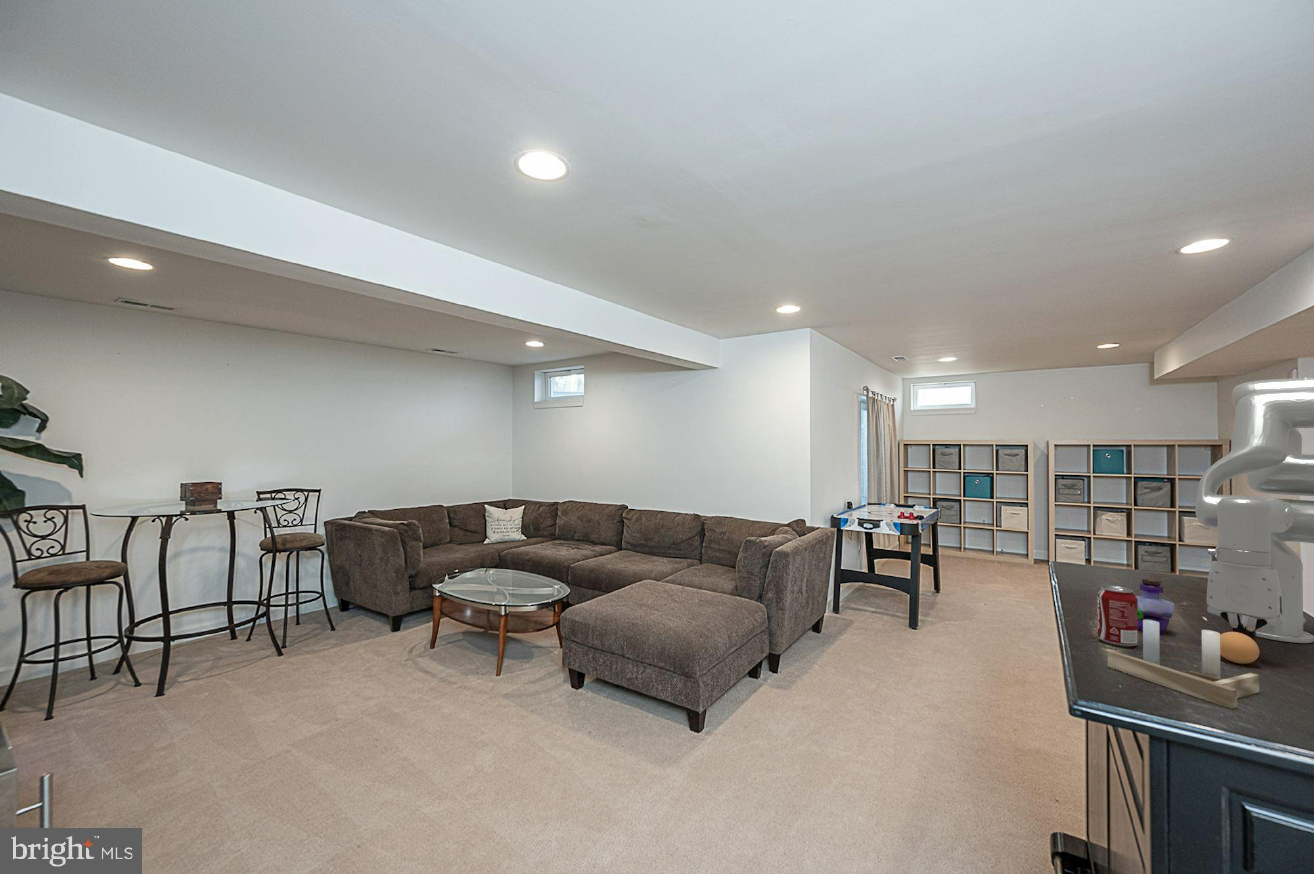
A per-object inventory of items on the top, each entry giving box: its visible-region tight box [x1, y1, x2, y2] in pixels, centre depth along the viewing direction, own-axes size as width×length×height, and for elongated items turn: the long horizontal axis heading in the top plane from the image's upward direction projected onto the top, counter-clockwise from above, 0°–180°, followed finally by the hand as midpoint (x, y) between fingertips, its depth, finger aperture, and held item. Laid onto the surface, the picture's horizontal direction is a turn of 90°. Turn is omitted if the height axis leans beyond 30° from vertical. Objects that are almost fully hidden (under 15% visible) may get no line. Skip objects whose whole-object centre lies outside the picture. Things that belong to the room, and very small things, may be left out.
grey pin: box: [1142, 620, 1161, 666], centre depth 107 cm, size 2×2×8 cm
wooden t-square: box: [1107, 650, 1260, 710], centre depth 99 cm, size 13×18×3 cm
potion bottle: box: [1135, 577, 1176, 635], centre depth 128 cm, size 9×9×12 cm
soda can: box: [1096, 584, 1139, 648], centre depth 119 cm, size 7×7×12 cm
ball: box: [1220, 631, 1260, 665], centre depth 109 cm, size 6×6×6 cm
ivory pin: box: [1201, 629, 1221, 678], centre depth 101 cm, size 2×2×8 cm
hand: (1244, 647), depth 111 cm, fingers closed
